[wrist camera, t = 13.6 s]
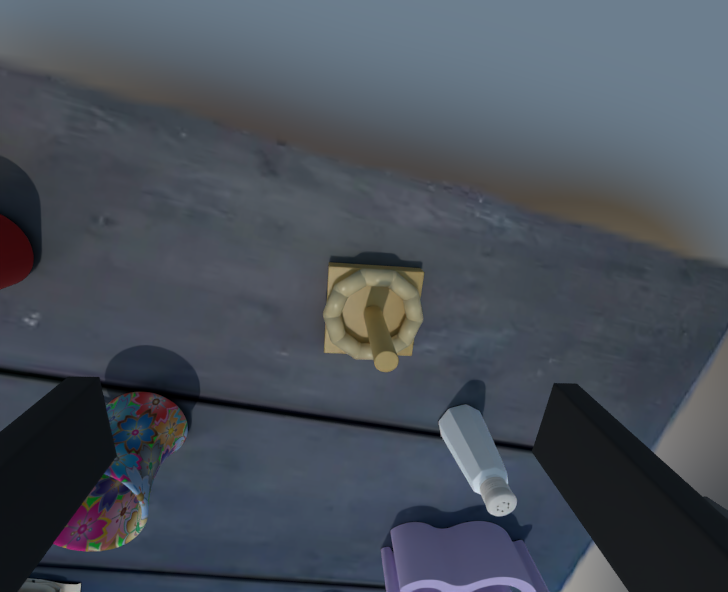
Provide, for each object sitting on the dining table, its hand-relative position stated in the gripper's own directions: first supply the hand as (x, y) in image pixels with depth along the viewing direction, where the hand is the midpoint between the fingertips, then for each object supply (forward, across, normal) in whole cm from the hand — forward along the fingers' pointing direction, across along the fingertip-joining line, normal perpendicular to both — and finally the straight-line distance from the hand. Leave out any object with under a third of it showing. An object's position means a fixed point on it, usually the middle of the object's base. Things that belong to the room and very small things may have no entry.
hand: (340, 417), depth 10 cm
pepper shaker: (+24, +16, -20) cm, 35 cm away
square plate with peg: (+24, +4, -6) cm, 25 cm away
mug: (+24, -20, -20) cm, 37 cm away
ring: (+21, +4, -6) cm, 23 cm away
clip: (+23, +18, -42) cm, 52 cm away
